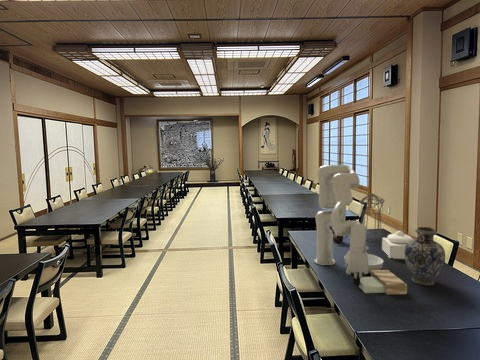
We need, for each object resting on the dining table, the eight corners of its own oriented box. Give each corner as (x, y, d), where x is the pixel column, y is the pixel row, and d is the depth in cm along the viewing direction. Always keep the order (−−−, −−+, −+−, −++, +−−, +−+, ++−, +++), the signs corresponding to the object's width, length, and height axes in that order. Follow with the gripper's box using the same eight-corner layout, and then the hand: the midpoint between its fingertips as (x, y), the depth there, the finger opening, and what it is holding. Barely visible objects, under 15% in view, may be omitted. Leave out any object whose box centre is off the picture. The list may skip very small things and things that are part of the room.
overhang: (370, 280, 179) (371, 270, 179) (388, 279, 180) (389, 269, 179) (386, 294, 162) (387, 283, 162) (406, 294, 163) (407, 283, 162)
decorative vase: (408, 270, 192) (411, 222, 188) (446, 279, 180) (450, 227, 176) (397, 283, 175) (400, 230, 172) (438, 293, 163) (443, 236, 160)
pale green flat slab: (355, 282, 176) (355, 277, 176) (385, 282, 177) (386, 276, 176) (364, 293, 164) (365, 287, 164) (397, 292, 165) (397, 286, 164)
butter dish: (409, 250, 228) (410, 227, 226) (419, 260, 210) (421, 234, 208) (381, 250, 230) (382, 227, 228) (389, 259, 212) (390, 234, 210)
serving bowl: (386, 278, 182) (387, 266, 181) (345, 275, 186) (346, 263, 185) (379, 264, 202) (379, 253, 201) (342, 262, 206) (342, 251, 205)
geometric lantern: (383, 238, 256) (385, 192, 252) (379, 244, 243) (381, 196, 238) (361, 235, 265) (363, 191, 260) (356, 241, 251) (358, 194, 247)
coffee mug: (329, 240, 252) (329, 227, 251) (339, 239, 254) (339, 226, 253) (338, 245, 241) (338, 231, 240) (348, 244, 243) (349, 230, 242)
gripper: (369, 246, 172) (368, 281, 174) (340, 247, 171) (339, 282, 173) (375, 251, 165) (374, 287, 167) (345, 251, 164) (344, 288, 166)
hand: (356, 285), depth 170 cm, fingers closed
